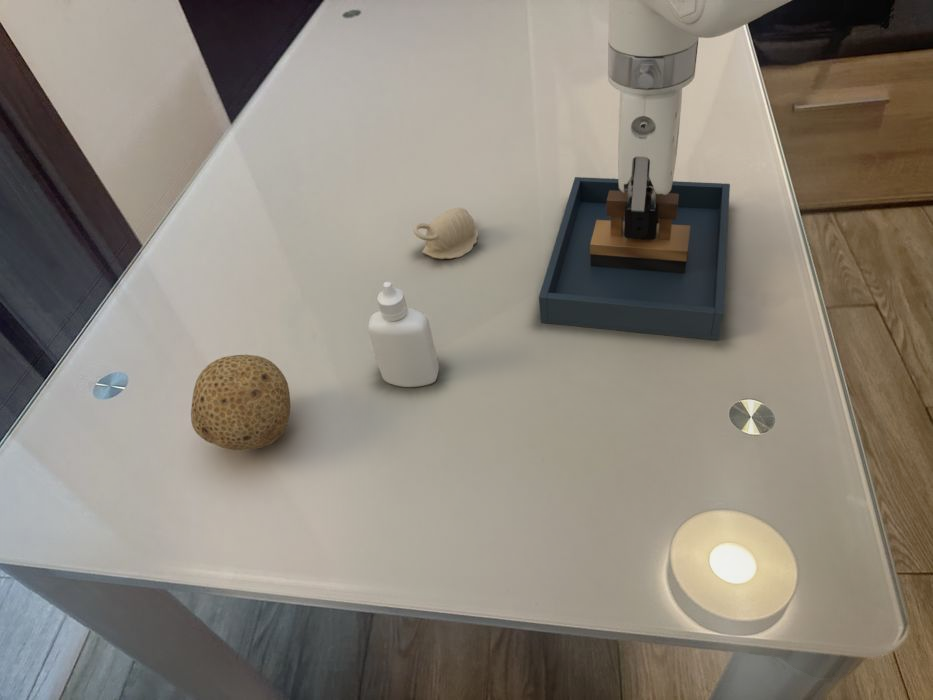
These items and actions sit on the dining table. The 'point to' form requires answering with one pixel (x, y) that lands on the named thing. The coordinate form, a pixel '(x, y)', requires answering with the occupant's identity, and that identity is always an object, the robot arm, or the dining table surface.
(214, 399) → the natural sponge
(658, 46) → the robot arm
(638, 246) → the brush
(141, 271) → the dining table surface
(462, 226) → the decorative ornament
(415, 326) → the eye dropper bottle
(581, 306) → the tray
